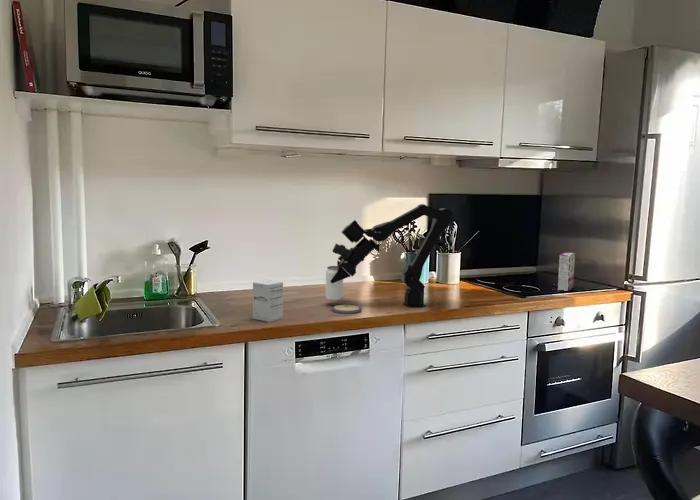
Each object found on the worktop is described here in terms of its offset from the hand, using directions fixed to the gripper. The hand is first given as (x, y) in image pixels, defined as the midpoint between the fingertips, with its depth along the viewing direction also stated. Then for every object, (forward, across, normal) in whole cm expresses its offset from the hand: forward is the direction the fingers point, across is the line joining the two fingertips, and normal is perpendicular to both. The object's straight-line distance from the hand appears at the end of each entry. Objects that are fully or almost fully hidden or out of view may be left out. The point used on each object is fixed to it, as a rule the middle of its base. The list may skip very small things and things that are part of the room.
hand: (330, 280), depth 213 cm
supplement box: (+22, +22, -9) cm, 32 cm away
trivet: (+3, +9, +10) cm, 14 cm away
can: (+4, 0, +6) cm, 7 cm away
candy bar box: (-67, -33, +83) cm, 112 cm away
